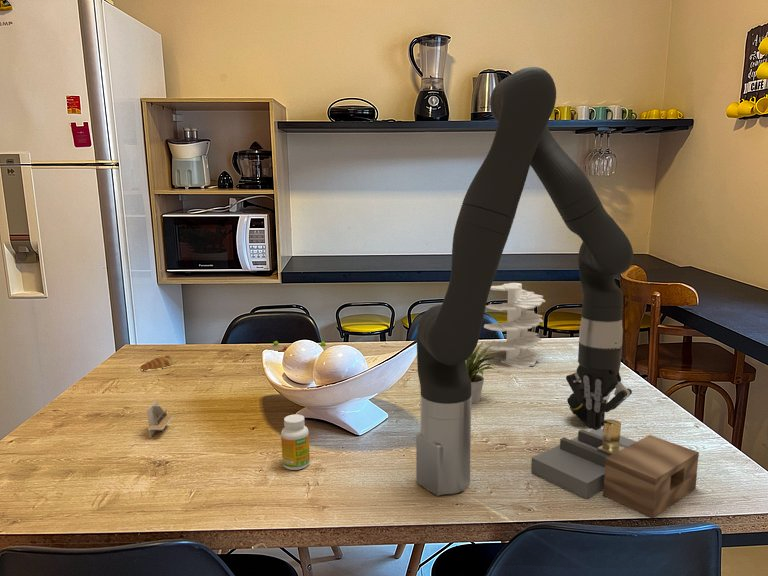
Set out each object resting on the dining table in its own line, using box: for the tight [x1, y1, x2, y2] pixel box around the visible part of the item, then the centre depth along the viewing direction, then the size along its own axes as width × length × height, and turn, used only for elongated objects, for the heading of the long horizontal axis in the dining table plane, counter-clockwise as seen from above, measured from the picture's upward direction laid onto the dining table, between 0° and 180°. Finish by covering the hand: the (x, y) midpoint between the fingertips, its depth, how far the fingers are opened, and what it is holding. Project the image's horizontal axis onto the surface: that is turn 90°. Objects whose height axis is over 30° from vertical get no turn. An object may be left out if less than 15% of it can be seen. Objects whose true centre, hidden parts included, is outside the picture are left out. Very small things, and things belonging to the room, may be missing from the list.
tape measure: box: [567, 392, 587, 424], centre depth 129 cm, size 7×7×4 cm
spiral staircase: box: [481, 282, 546, 370], centre depth 172 cm, size 18×18×25 cm
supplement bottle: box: [280, 413, 311, 471], centre depth 111 cm, size 5×5×10 cm
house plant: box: [466, 340, 498, 405], centre depth 141 cm, size 14×14×16 cm
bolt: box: [597, 418, 624, 456], centre depth 102 cm, size 4×11×7 cm, turn 37°
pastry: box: [140, 354, 175, 370], centre depth 169 cm, size 9×7×4 cm
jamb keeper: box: [602, 434, 700, 519], centre depth 99 cm, size 15×9×7 cm, turn 127°
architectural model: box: [147, 400, 174, 438], centre depth 125 cm, size 3×7×7 cm, turn 1°
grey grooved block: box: [530, 427, 637, 500], centre depth 109 cm, size 22×12×5 cm, turn 127°
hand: (595, 428), depth 108 cm, fingers closed
